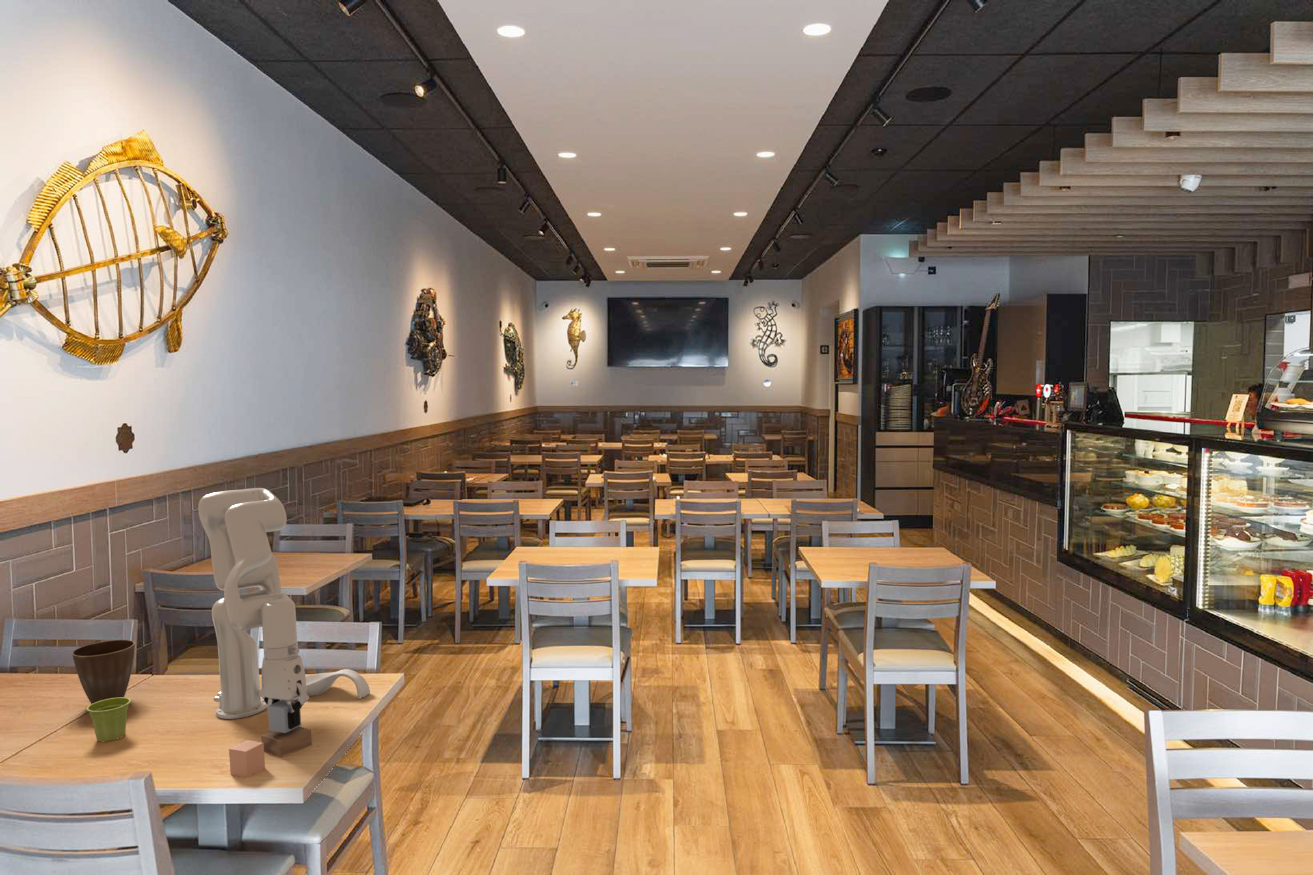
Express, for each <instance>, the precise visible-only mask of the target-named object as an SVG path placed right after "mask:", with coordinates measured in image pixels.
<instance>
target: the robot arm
mask: <svg viewBox="0 0 1313 875" xmlns="http://www.w3.org/2000/svg"><path fill="white" fill-rule="evenodd" d="M197 510H198V517H199V521H200V523H201V526H202V528H203V529H204V532H205V534H206V536H207V538H208V541H209V547H210V553H211V554H210V555H211V563H212V572H213V579H214V584H215V586H216V588H217V589H218V590H220V591H223V592H224V593H223V594H224V595H223V596H224V597H222V598H220V599H218V600H216V601H215V603H213V605H212V608H211V617H212V623H213V626H214V631H215V637H216V641H217V642H216V643H217V651H218V652H217V653H218V655H217V656H218V665H219V666H218V667H219V681H220V682H219V683H220V685H219V686H220V691H219V692H218V693H217V694H216V696H214V698H213V702H216V703H218V704H219V706H218V707H217V708H216V710H215V715H216V718H217V717H218V718H220V719H224V720H225V719H226V720H232V719H233V720H234V719H242V718H246V717H251V716H254V715H257V714H259V713H261V712H263V711H265V710H266V709H268V706H269V705H271V704H274V703H276V702H278V701H280V700H286V701H287V704H288V708H289V713H288V728H289V729H293V728H295V727H297V726H299V725H300V713H301V709H302V708H303V706H304V704H305V703H307V702H308V701H309V699H310V696H308V695H307V694H306V692H307V688H306V678H305V676H306V672H305V668H304V663H303V659H302V655H300V654H299V653H300V648H299V647H298V646H299V644H298V632H297V631H298V630H297V616H296V615H297V613H296V604H295V602H294V601H293V600H292V599H291V597H289V595H288V594H287V593H285V592H282V589H281V588H282V586H281V578H280V568H279V564H278V561H277V558H276V557H275V555H274V554H273V552H272V549H271V546H270V542H269V539H268V536H267V533H271V532H272V533H273V532H277V531H278V532H279V531H282V530H283V529H285V527H286V525H287V521H288V519H287V512H286V508H285V507H284V505H283V503H282V502H281V500H280V499H279V497H277V496H276V495H275V494H273V493H272V492H271V491H270V490H269V489H267V488H264V487H253V488H252V487H251V488H243V489H232V490H223V491H222V490H221V491H216V492H211V493H208V494H205V495H204V496H202V497H201V498H200V500H199V502H198V509H197ZM254 587H259V588H260V590H257V591H252V592H246V593H240V592H239V590H243V589H248V588H254ZM257 628H262V629H261V630H262V632H261V634H262V647H263V658H262V663H261V664H262V665H261V680H260V667H259V666H260V665H259V655H258V654H259V652H258V644H257V641H256V640H255V638H253V637H252V635H250V634H248V633H247V630H253V629H257ZM260 681H261V682H260ZM292 701H295V704H294V705H293V702H292ZM299 709H300V711H299ZM300 726H301V725H300Z"/></svg>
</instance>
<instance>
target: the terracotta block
mask: <svg viewBox="0 0 1313 875" xmlns="http://www.w3.org/2000/svg"><path fill="white" fill-rule="evenodd" d="M228 754H229V769H230V770H229V771H230V772H229V773H230V776H236V777H241V778H246V779H247V778H250V777H251V776H253V775H255V774H256V773H259V772H261V771H262V770H265V769H266V763H265V762H266V761H265V751H264V744H263V743H262V742H261V741H254V740H249V739H246V740H244V741H242V742H240V743H238V744H236V745H235V746H231V747H230V748H228Z"/></svg>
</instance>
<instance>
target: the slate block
mask: <svg viewBox="0 0 1313 875" xmlns="http://www.w3.org/2000/svg"><path fill="white" fill-rule="evenodd" d="M292 702H293V705H294V704H295V701H292ZM299 711H300V725H299V726H300V727H301V726H302V715H301V713H302V712H301V709H299ZM267 712H268V714H267V716H268V727H269V728H268V729H269V731H268V732H271V731H275V732H282V733H287V732H289V731H291V730H293V729H294V728H293V729H289V728H288V713H289V708H288V704H287V701H286V700H280V701H278V702H276V703H274V704H271V705H269V706H268V708H267ZM297 727H298V726H297ZM295 728H296V727H295Z"/></svg>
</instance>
